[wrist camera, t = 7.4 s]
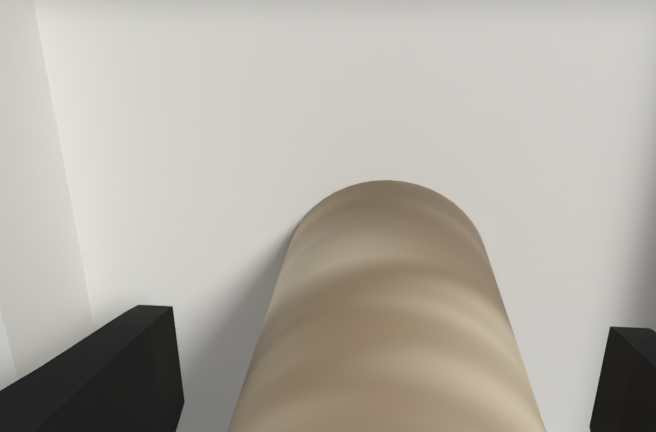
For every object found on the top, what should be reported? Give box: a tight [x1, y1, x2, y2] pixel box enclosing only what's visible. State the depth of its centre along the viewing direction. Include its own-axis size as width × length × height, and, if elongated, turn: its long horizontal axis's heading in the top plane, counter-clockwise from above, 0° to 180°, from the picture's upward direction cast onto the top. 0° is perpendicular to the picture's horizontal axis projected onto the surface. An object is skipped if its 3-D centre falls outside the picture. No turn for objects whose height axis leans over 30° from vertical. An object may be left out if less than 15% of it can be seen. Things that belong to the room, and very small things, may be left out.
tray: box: [0, 0, 656, 432], centre depth 12 cm, size 15×17×4 cm
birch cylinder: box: [227, 180, 546, 432], centre depth 10 cm, size 4×4×7 cm
